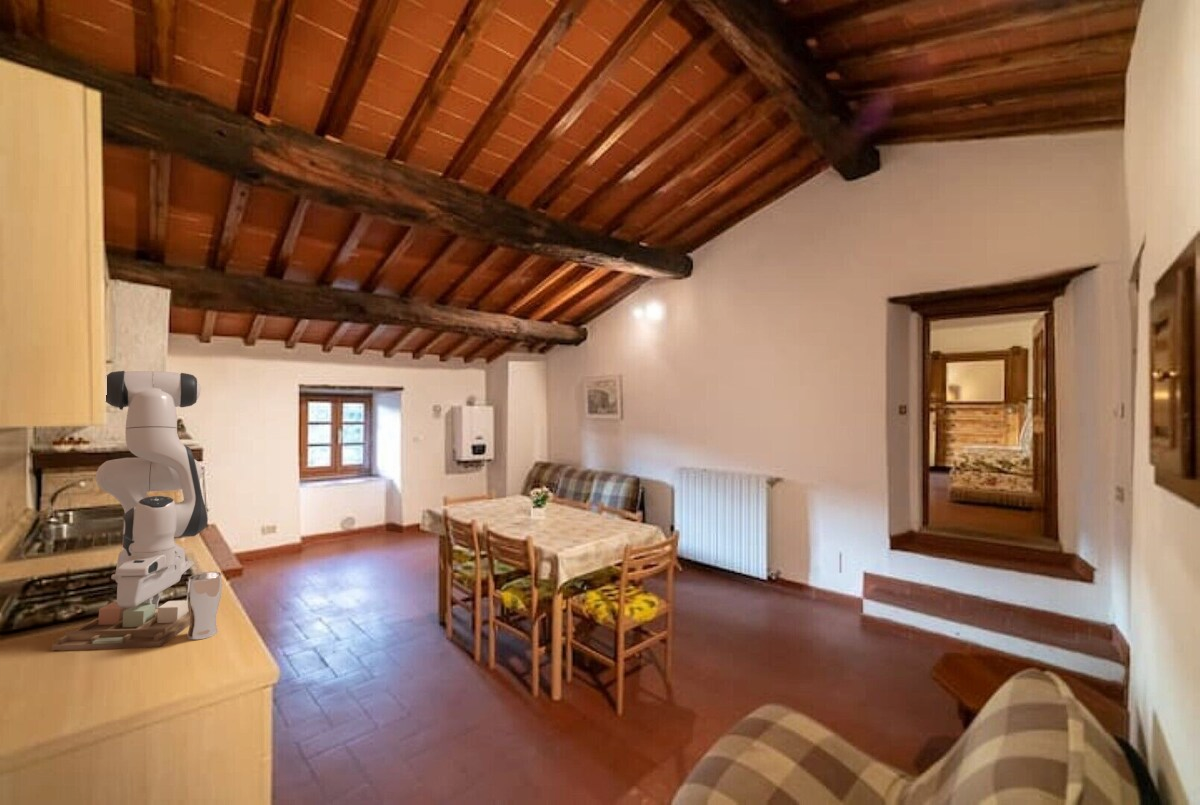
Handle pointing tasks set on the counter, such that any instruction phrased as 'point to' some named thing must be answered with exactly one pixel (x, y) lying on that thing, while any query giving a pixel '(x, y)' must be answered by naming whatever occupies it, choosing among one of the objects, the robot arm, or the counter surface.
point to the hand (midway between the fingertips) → (150, 611)
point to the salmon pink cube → (111, 614)
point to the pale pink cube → (171, 611)
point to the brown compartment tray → (121, 635)
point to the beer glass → (203, 604)
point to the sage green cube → (138, 615)
